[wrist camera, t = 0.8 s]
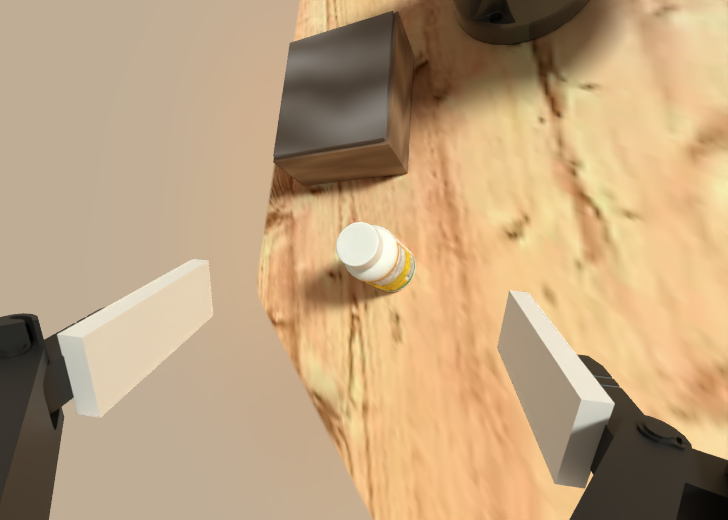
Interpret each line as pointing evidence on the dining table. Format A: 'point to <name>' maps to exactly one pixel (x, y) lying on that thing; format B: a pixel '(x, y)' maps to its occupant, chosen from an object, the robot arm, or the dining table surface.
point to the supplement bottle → (375, 256)
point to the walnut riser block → (347, 103)
